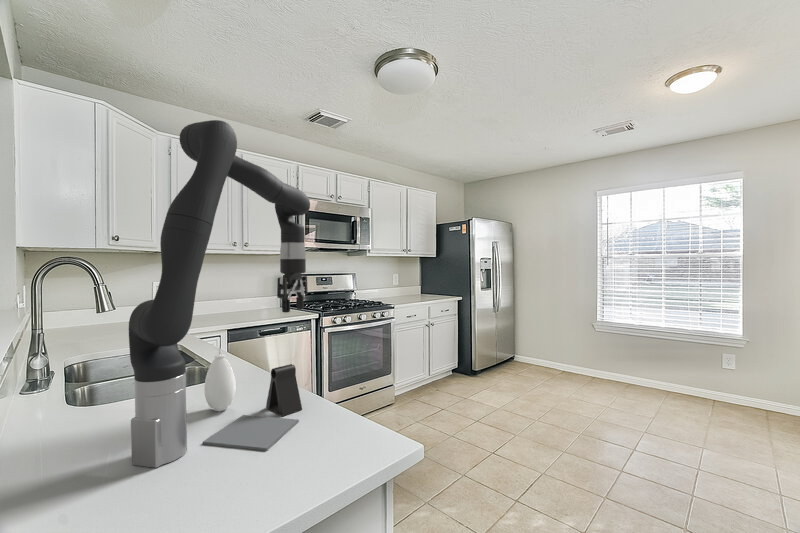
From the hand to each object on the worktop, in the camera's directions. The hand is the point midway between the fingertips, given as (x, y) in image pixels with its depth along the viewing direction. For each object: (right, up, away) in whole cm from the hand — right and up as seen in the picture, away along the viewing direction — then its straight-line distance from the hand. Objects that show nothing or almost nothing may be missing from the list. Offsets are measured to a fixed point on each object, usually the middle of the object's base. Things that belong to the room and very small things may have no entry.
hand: (293, 310), depth 116 cm
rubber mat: (-3, -27, -25) cm, 36 cm away
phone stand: (0, -27, -11) cm, 29 cm away
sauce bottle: (-17, -27, -11) cm, 34 cm away
